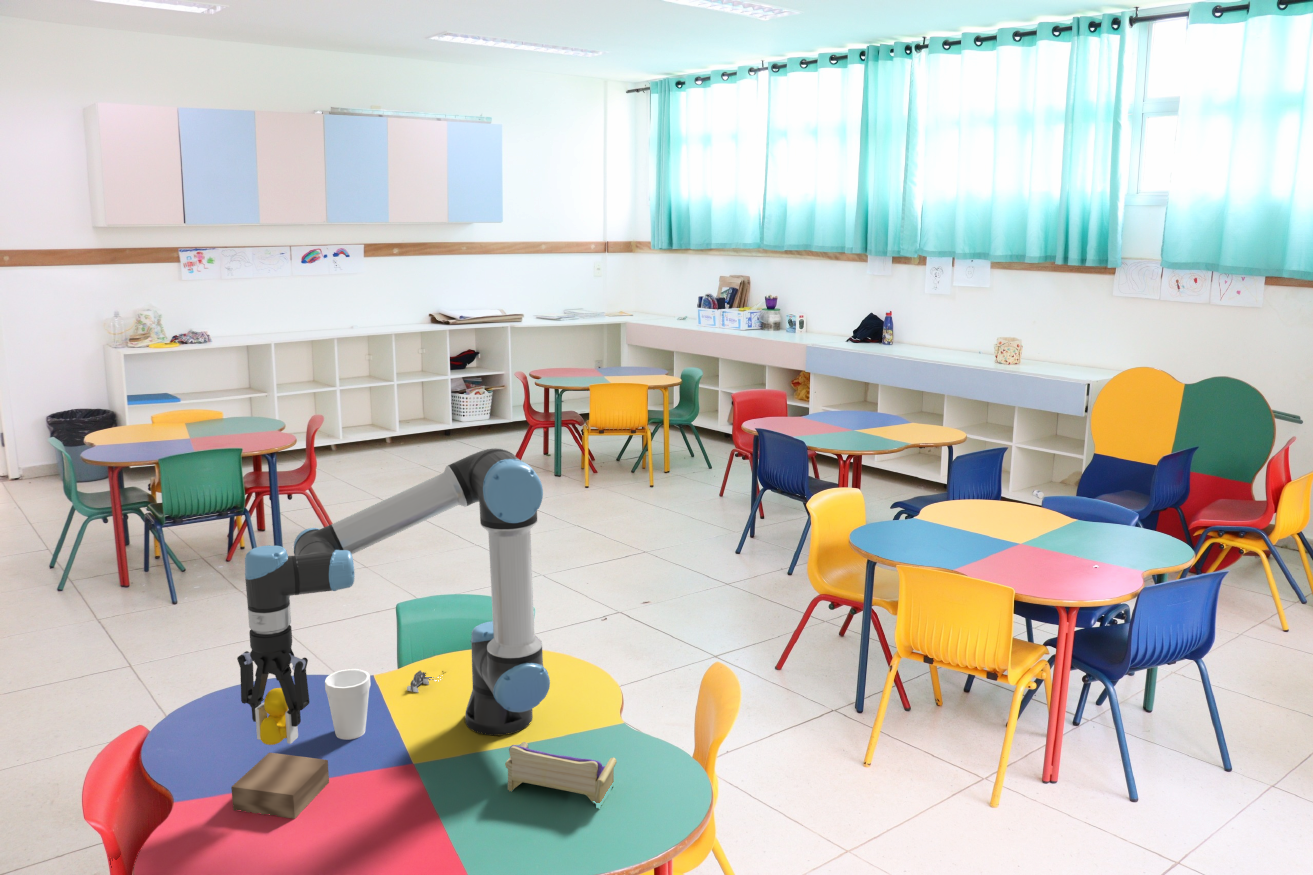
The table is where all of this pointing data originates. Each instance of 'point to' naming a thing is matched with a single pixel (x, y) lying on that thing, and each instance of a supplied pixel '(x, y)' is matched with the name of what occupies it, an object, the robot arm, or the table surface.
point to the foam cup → (348, 701)
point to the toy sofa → (559, 772)
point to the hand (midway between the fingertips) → (277, 737)
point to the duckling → (274, 718)
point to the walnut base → (280, 785)
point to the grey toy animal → (419, 681)
